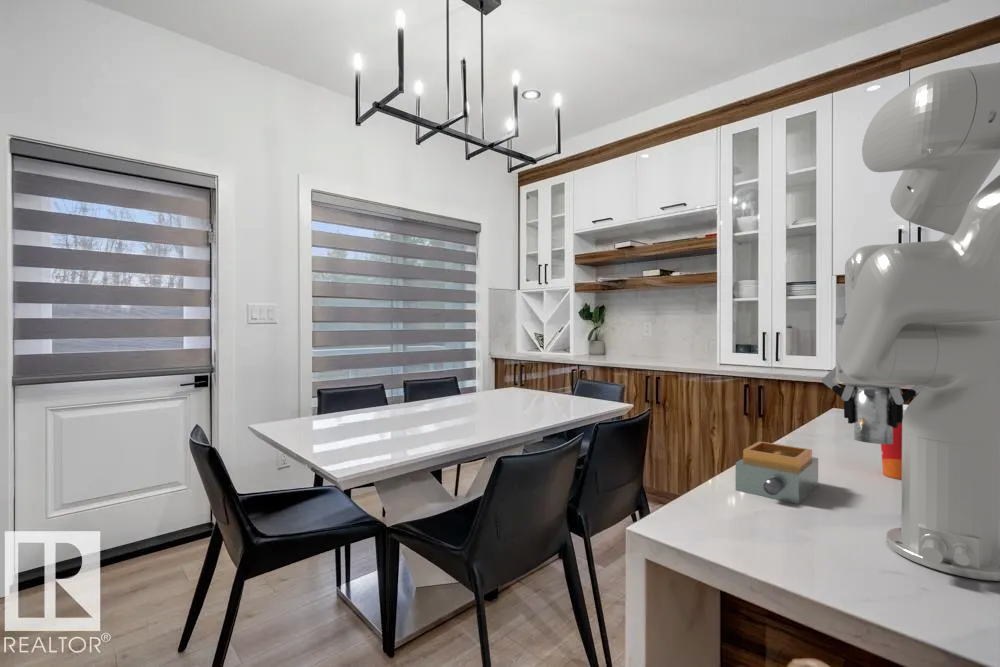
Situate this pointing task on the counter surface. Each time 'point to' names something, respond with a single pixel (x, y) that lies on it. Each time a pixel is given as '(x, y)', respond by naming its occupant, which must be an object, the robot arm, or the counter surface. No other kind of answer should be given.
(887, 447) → the paper cup
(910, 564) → the counter surface
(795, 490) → the box
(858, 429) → the spout can
